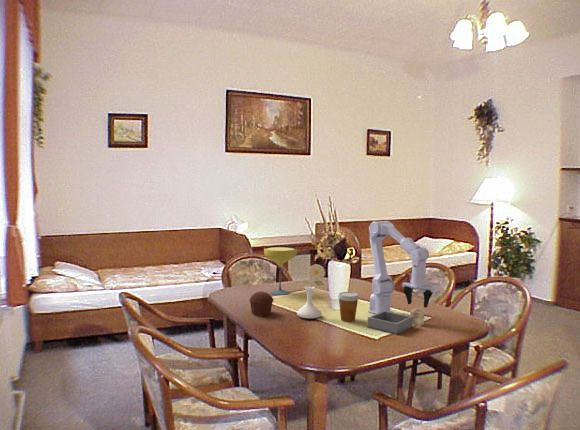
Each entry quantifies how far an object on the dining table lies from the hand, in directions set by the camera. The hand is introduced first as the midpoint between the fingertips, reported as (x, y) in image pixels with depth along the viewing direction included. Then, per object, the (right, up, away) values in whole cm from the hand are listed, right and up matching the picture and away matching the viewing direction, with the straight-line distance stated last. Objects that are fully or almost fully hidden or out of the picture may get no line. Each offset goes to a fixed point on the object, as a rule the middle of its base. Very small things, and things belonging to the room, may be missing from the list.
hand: (417, 305), depth 213 cm
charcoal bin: (-13, -9, -5) cm, 16 cm away
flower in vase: (-47, -7, +9) cm, 48 cm away
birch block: (0, -8, +1) cm, 8 cm away
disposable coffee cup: (-30, -8, +5) cm, 32 cm away
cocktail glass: (-62, -3, +54) cm, 82 cm away
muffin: (-70, -7, +14) cm, 72 cm away
